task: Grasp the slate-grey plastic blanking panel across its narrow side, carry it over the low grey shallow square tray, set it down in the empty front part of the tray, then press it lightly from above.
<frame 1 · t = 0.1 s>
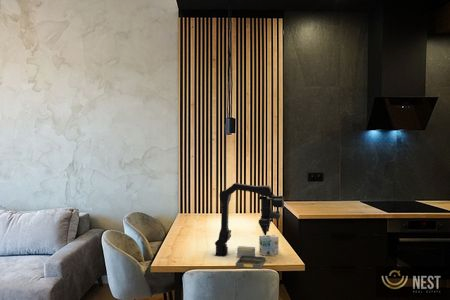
hand: (266, 233, 217), 15 cm above the table, fingers open, 9 cm apart
grey shallow square tray: (250, 263, 206), on the table
light bulb box: (269, 253, 226), on the table
panel: (246, 257, 218), on the table
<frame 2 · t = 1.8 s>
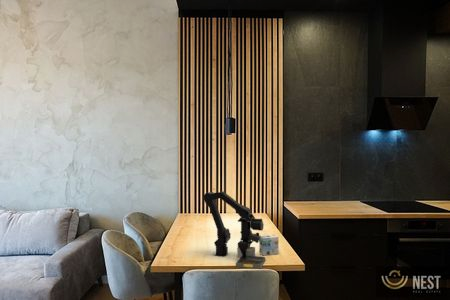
hand: (246, 255, 218), 1 cm above the table, fingers open, 9 cm apart
nothing on the table moved.
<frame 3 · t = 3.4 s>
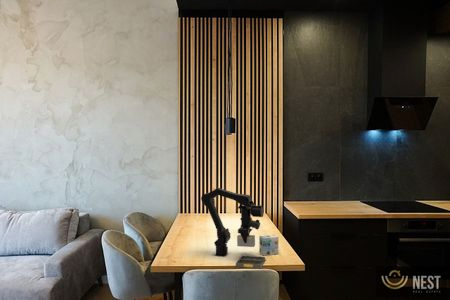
hand: (246, 242, 218), 9 cm above the table, fingers closed on panel, 4 cm apart
panel: (246, 245, 218), point 7 cm above the table, touching gripper
everything else where it was.
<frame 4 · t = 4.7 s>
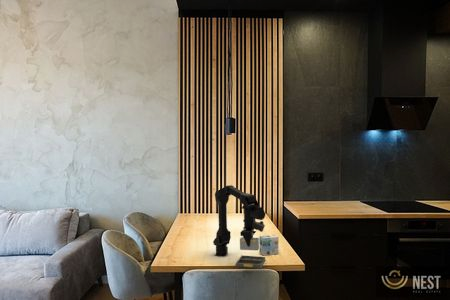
hand: (249, 245, 203), 11 cm above the table, fingers closed on panel, 4 cm apart
panel: (249, 249, 203), point 9 cm above the table, touching gripper
everything else where it was.
when the fingers open (3 cm above the table, at t = 6.5 s): panel stays where it is, resting on grey shallow square tray.
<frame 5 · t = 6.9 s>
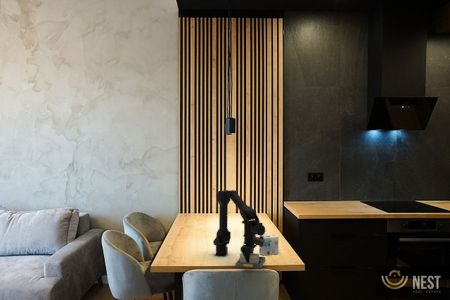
hand: (249, 260, 203), 3 cm above the table, fingers open, 8 cm apart
panel: (249, 264, 203), resting on grey shallow square tray
everything else where it was.
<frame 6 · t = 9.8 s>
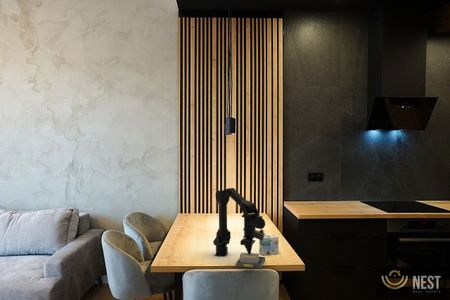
hand: (249, 254, 203), 6 cm above the table, fingers closed, pressing on panel
panel: (249, 264, 203), resting on grey shallow square tray, touching gripper
everything else where it was.
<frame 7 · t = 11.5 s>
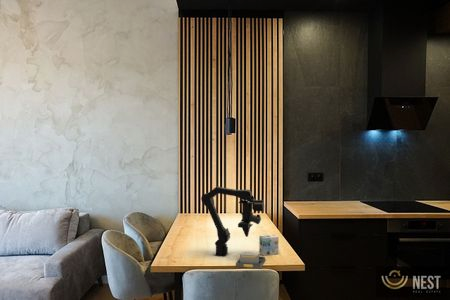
hand: (246, 236, 220), 12 cm above the table, fingers closed
panel: (249, 264, 203), resting on grey shallow square tray
everything else where it was.
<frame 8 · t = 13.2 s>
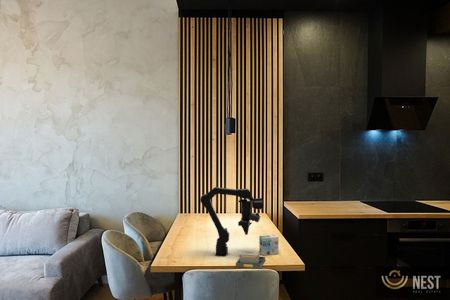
hand: (246, 234, 224), 12 cm above the table, fingers closed
nothing on the table moved.
at the end: panel 0.1 cm from the target spot, resting on grey shallow square tray; panel tilted 0°; the gripper is holding nothing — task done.
